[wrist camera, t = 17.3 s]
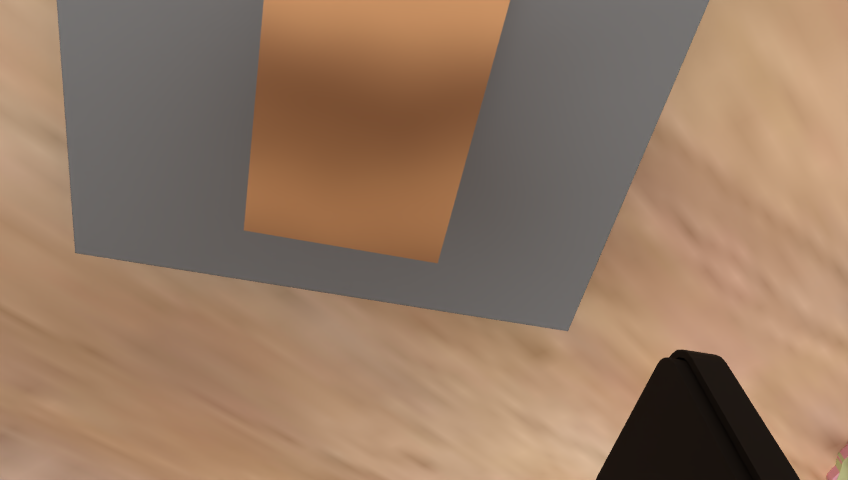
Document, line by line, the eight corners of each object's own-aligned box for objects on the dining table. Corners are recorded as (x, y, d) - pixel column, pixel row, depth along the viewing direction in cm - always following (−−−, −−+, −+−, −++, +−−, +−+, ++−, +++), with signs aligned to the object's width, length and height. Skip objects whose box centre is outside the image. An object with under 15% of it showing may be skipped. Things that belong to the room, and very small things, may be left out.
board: (561, 311, 31) (568, 332, 30) (90, 234, 28) (74, 253, 27) (785, -233, 20) (812, -239, 19) (49, -451, 17) (20, -476, 16)
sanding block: (432, 195, 26) (437, 263, 22) (270, 165, 25) (243, 230, 21) (499, -71, 21) (524, -50, 17) (301, -120, 20) (273, -110, 16)
